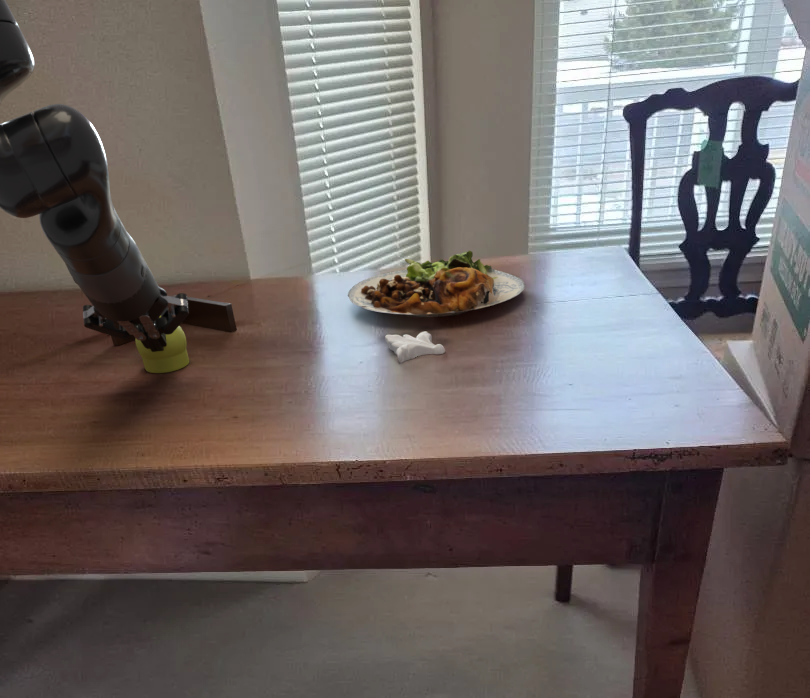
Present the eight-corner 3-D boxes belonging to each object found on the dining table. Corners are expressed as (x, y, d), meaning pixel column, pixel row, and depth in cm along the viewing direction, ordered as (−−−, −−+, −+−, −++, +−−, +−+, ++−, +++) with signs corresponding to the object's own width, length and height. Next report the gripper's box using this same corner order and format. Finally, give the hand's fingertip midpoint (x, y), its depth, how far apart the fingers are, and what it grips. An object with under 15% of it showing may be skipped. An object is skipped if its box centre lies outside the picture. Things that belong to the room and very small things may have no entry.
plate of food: (453, 269, 132) (451, 234, 129) (562, 298, 113) (564, 257, 109) (318, 304, 120) (313, 266, 117) (414, 343, 101) (411, 299, 97)
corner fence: (168, 357, 104) (161, 329, 101) (113, 344, 111) (105, 318, 108) (237, 329, 112) (231, 303, 110) (181, 319, 119) (175, 294, 117)
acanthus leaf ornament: (399, 364, 95) (397, 350, 94) (379, 349, 100) (377, 336, 99) (450, 351, 97) (449, 337, 96) (428, 338, 102) (427, 324, 101)
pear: (166, 376, 97) (147, 309, 92) (132, 370, 100) (113, 304, 95) (201, 360, 102) (185, 294, 97) (168, 354, 105) (151, 290, 100)
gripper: (168, 232, 80) (205, 312, 97) (46, 246, 79) (104, 325, 96) (175, 293, 79) (211, 364, 96) (50, 309, 78) (108, 378, 95)
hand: (157, 344), depth 96 cm, fingers closed
